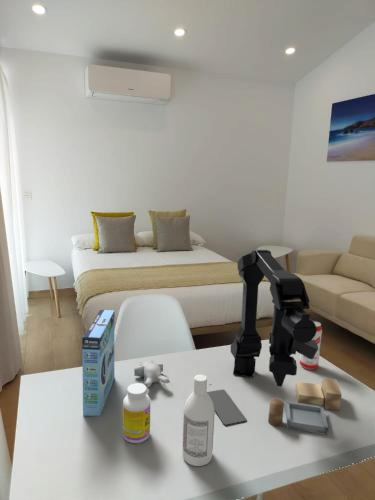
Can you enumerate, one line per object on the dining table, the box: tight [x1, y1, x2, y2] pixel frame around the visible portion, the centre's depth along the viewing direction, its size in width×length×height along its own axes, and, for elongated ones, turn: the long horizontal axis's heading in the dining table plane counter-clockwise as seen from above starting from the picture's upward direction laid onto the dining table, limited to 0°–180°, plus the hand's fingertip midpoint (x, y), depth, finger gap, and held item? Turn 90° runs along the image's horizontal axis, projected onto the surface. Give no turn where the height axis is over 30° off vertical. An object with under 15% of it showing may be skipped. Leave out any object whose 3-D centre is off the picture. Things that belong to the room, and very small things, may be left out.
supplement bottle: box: [122, 382, 151, 444], centre depth 89 cm, size 7×7×13 cm
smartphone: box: [207, 388, 248, 427], centre depth 103 cm, size 7×1×15 cm
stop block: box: [320, 377, 343, 411], centre depth 107 cm, size 4×8×5 cm, turn 168°
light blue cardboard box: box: [81, 309, 116, 417], centre depth 104 cm, size 20×5×23 cm, turn 0°
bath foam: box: [182, 374, 216, 467], centre depth 82 cm, size 7×7×20 cm
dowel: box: [267, 397, 285, 428], centre depth 96 cm, size 4×4×6 cm
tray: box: [285, 400, 329, 436], centre depth 98 cm, size 10×9×2 cm
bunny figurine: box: [133, 360, 170, 388], centre depth 115 cm, size 10×5×15 cm
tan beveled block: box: [295, 381, 324, 407], centre depth 109 cm, size 7×7×3 cm
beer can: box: [299, 320, 323, 371], centre depth 126 cm, size 6×6×16 cm
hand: (279, 381), depth 95 cm, fingers open, 4 cm apart
